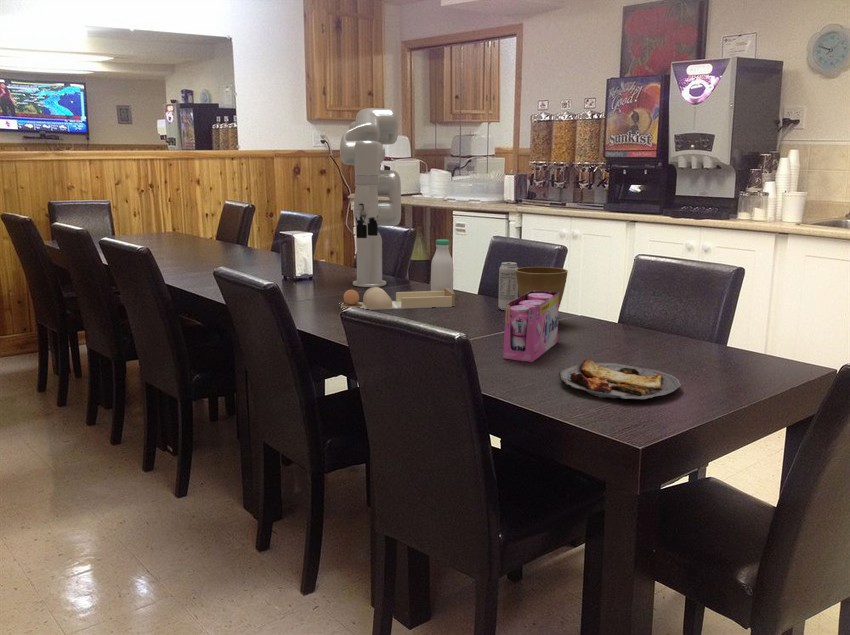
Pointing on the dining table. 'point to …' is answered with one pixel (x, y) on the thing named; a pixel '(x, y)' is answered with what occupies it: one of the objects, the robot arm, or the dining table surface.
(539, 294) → the gum box
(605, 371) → the food plate
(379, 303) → the lane
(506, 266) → the energy drink can
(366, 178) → the robot arm
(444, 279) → the milk bottle
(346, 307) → the tee
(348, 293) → the ball
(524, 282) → the plant pot
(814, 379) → the dining table surface
